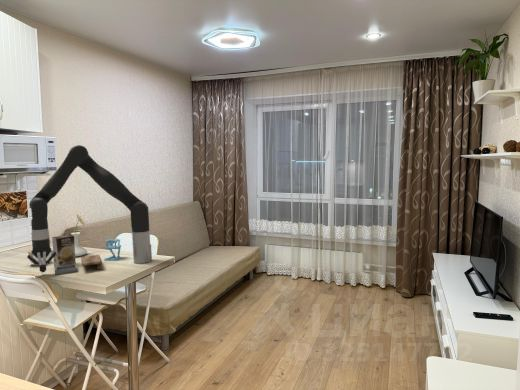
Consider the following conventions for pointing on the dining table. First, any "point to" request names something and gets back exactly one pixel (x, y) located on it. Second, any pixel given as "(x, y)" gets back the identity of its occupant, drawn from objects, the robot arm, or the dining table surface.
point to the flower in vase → (78, 248)
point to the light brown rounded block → (92, 261)
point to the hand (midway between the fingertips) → (43, 271)
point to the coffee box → (64, 250)
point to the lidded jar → (37, 258)
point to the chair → (113, 248)
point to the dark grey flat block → (65, 269)
